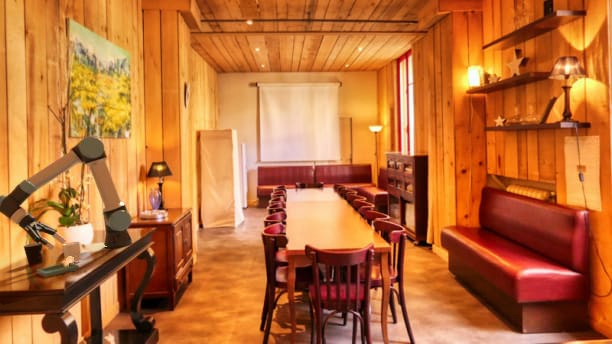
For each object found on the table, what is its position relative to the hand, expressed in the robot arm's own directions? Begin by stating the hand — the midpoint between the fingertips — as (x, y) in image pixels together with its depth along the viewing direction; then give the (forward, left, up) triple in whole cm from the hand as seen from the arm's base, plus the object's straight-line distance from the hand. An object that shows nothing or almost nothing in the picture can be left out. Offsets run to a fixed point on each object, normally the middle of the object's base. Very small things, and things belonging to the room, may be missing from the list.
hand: (58, 244), depth 235 cm
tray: (+6, +15, -10) cm, 19 cm away
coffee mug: (+5, -21, -10) cm, 24 cm away
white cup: (-5, +3, -10) cm, 12 cm away
